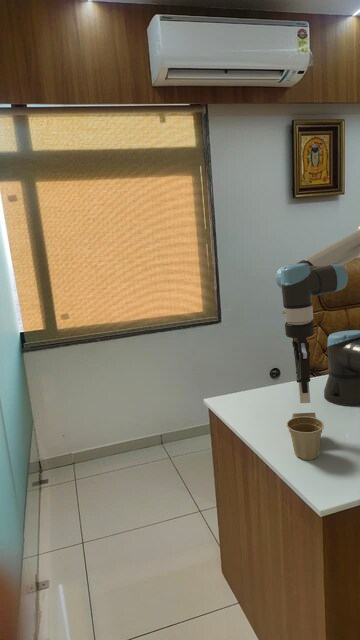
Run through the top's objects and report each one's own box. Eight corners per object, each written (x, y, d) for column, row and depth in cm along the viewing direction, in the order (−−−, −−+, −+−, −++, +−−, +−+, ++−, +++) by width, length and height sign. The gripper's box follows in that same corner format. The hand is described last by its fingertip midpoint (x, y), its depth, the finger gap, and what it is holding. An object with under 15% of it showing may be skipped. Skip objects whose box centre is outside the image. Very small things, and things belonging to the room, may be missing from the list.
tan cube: (315, 412, 115) (318, 434, 112) (312, 417, 120) (315, 438, 117) (292, 413, 116) (295, 435, 113) (291, 418, 121) (294, 439, 118)
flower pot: (301, 467, 104) (299, 435, 102) (281, 450, 113) (279, 421, 111) (332, 458, 107) (331, 427, 105) (311, 442, 116) (310, 413, 114)
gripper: (281, 317, 119) (288, 394, 124) (288, 328, 106) (295, 413, 111) (308, 314, 118) (313, 392, 123) (318, 325, 105) (323, 410, 110)
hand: (304, 401), depth 117 cm, fingers closed
